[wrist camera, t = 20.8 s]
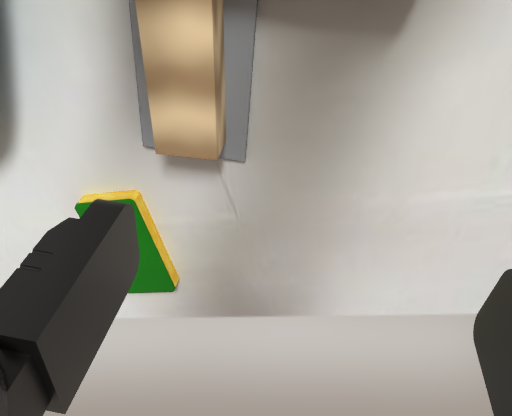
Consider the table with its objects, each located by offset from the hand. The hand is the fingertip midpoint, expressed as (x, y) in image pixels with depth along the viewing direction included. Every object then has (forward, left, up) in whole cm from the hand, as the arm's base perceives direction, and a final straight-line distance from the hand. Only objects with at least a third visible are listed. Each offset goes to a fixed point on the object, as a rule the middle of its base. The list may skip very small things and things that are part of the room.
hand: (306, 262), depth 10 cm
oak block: (+7, -10, -28) cm, 30 cm away
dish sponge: (+29, -18, -29) cm, 45 cm away
